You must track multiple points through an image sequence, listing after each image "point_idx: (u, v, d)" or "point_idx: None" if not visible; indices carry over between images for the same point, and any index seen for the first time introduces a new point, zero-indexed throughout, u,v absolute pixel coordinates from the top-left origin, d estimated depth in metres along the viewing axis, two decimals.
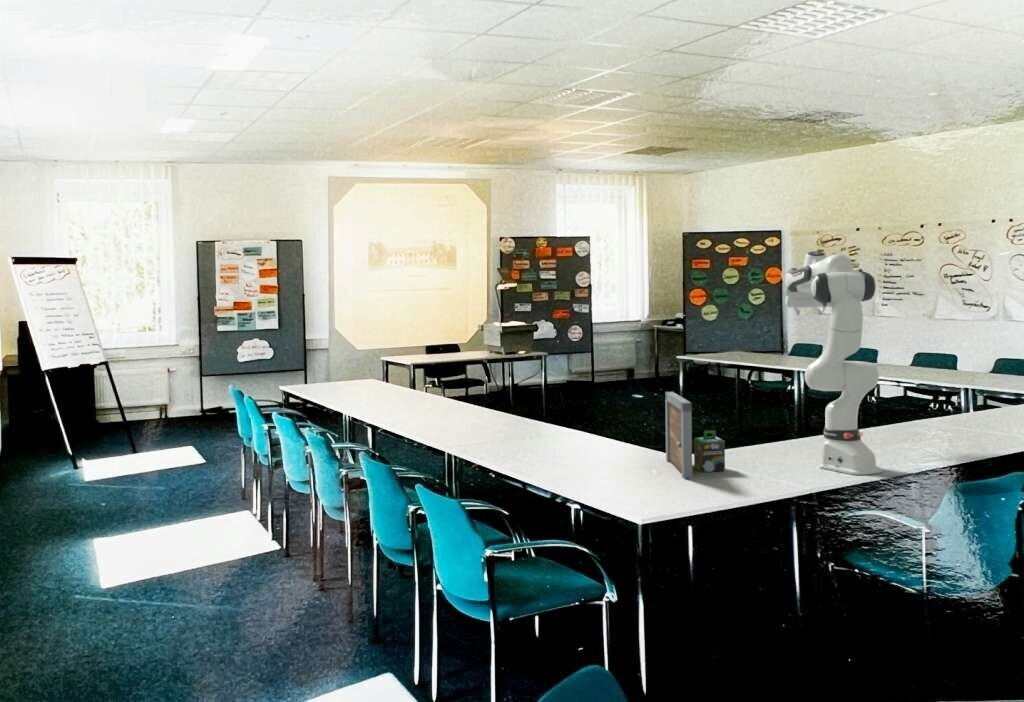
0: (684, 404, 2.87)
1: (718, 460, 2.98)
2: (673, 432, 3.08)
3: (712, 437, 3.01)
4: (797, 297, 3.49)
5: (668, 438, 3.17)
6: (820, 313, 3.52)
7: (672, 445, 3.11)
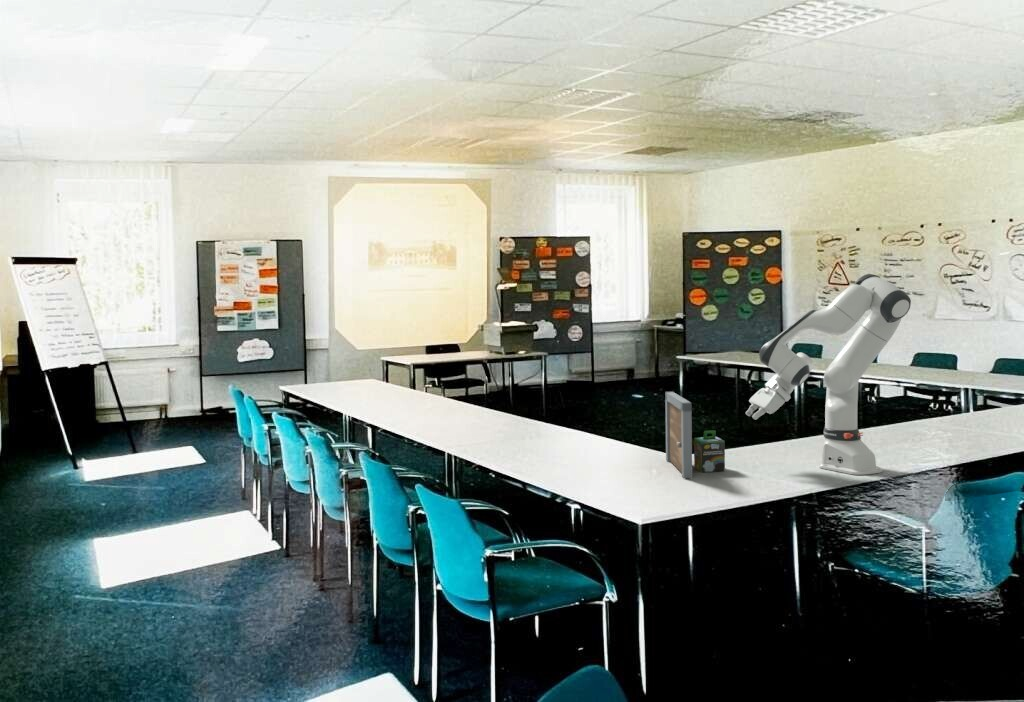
0: (684, 404, 2.87)
1: (718, 460, 2.98)
2: (673, 432, 3.08)
3: (712, 437, 3.01)
4: (760, 393, 3.07)
5: (668, 438, 3.17)
6: (753, 414, 2.97)
7: (672, 445, 3.11)
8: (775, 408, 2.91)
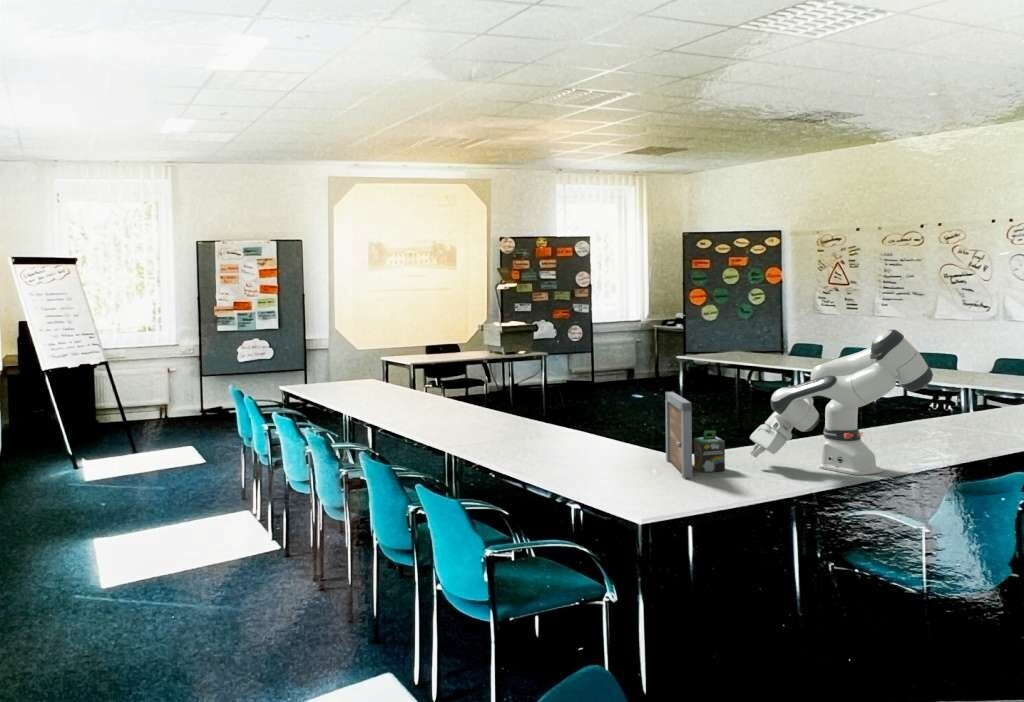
0: (684, 404, 2.87)
1: (718, 460, 2.98)
2: (673, 432, 3.08)
3: (712, 437, 3.01)
4: (761, 430, 3.07)
5: (668, 438, 3.17)
6: (753, 452, 3.01)
7: (672, 445, 3.11)
8: (778, 448, 2.92)
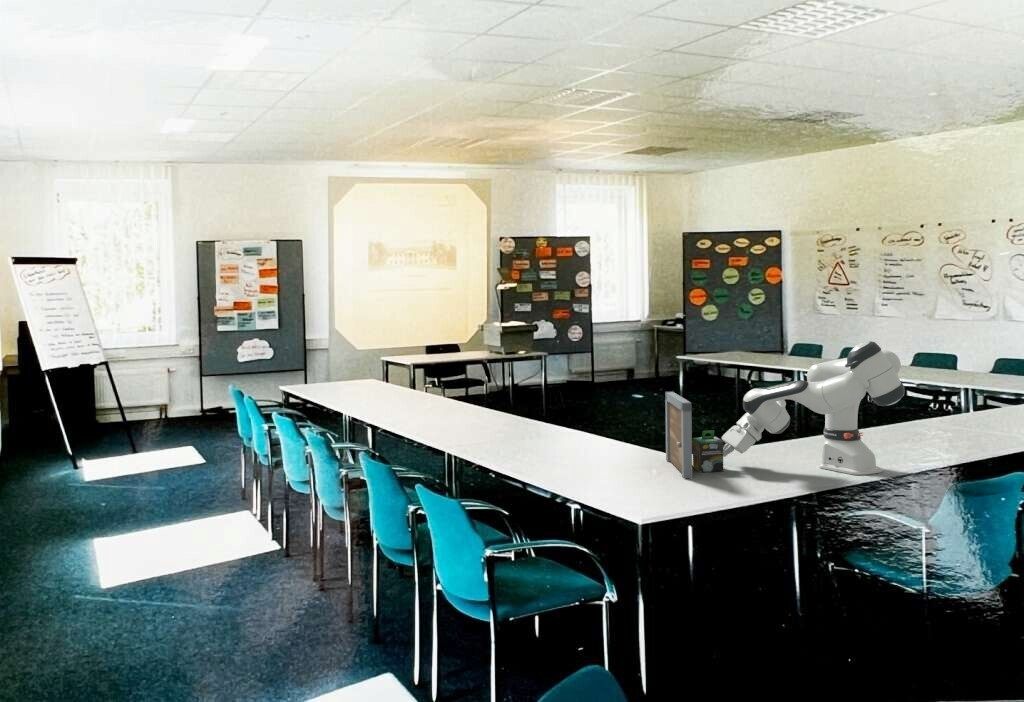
0: (684, 404, 2.87)
1: (717, 460, 2.98)
2: (673, 432, 3.08)
3: (711, 437, 3.01)
4: (732, 430, 3.07)
5: (668, 438, 3.17)
6: None
7: (672, 445, 3.11)
8: (746, 447, 2.92)
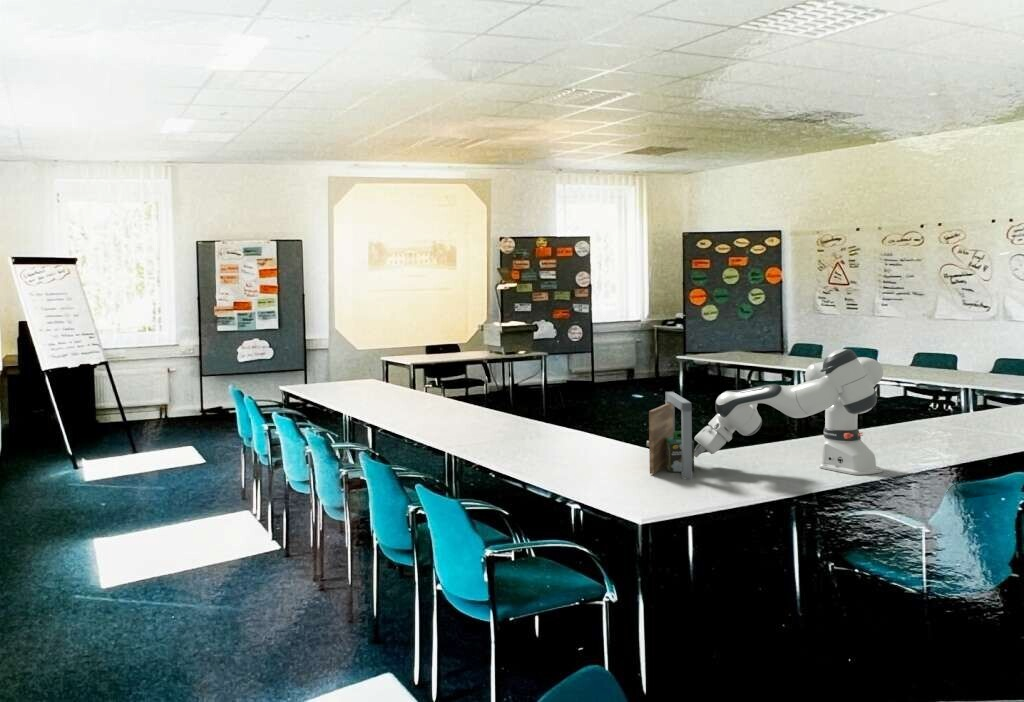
0: (684, 404, 2.87)
1: None
2: None
3: None
4: (705, 431, 3.08)
5: None
6: (694, 452, 3.02)
7: None
8: (716, 448, 2.92)
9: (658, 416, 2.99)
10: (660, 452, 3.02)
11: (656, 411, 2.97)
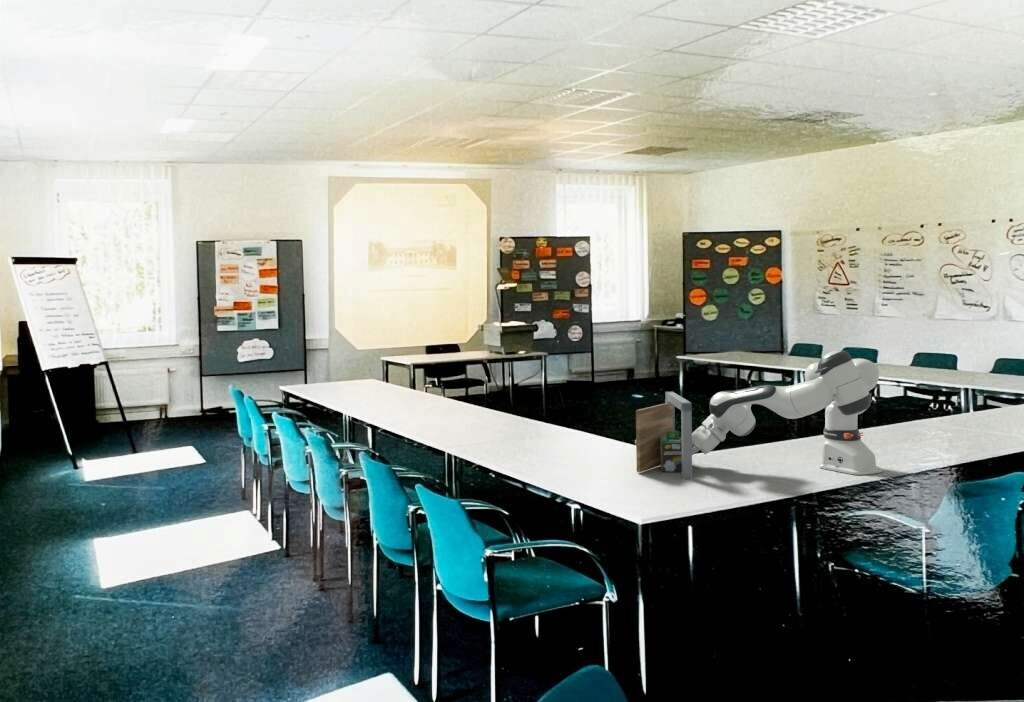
0: (684, 404, 2.87)
1: (679, 460, 2.99)
2: None
3: (676, 437, 3.02)
4: (699, 431, 3.08)
5: None
6: None
7: None
8: (710, 448, 2.92)
9: (648, 416, 3.01)
10: (652, 451, 3.04)
11: (645, 410, 2.99)
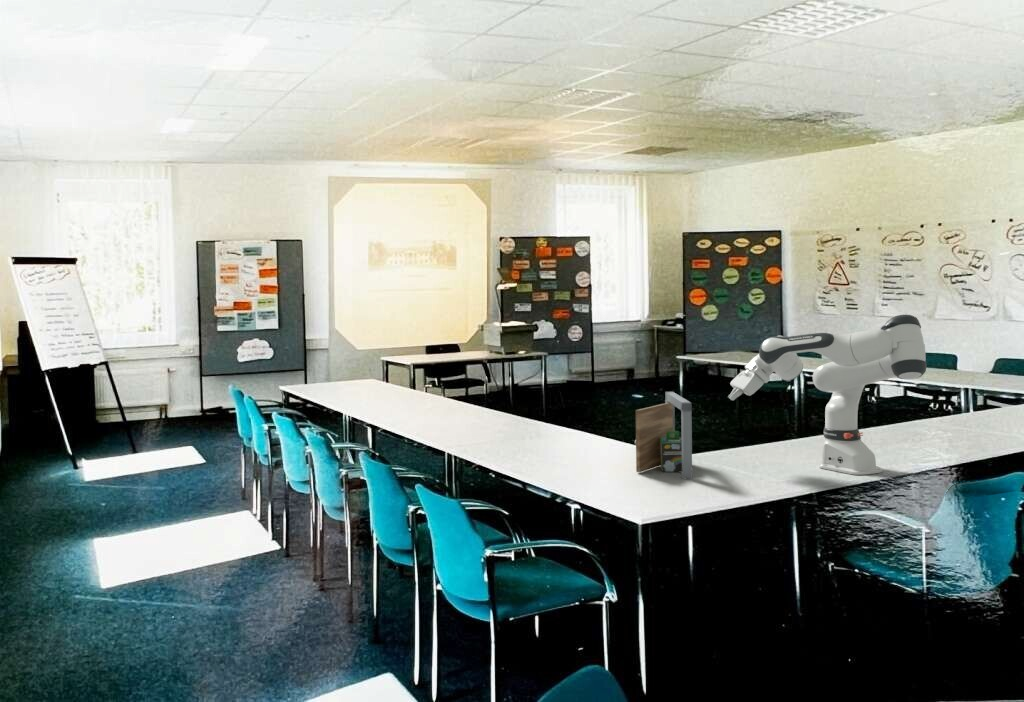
0: (684, 404, 2.87)
1: (679, 461, 2.99)
2: None
3: (675, 437, 3.03)
4: (741, 375, 3.06)
5: None
6: (730, 395, 3.00)
7: None
8: (754, 389, 2.91)
9: (648, 416, 3.01)
10: (652, 451, 3.04)
11: (644, 410, 2.99)
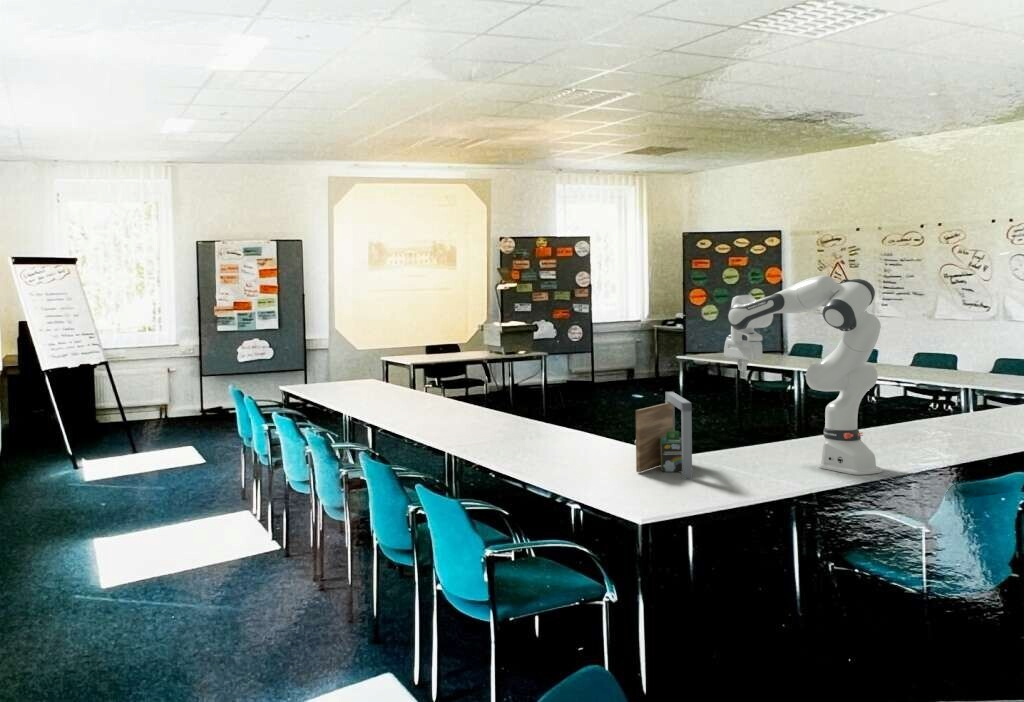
0: (684, 404, 2.87)
1: (679, 461, 2.99)
2: None
3: (676, 437, 3.03)
4: (730, 345, 3.28)
5: None
6: (741, 368, 3.22)
7: None
8: (760, 353, 3.14)
9: (648, 416, 3.01)
10: (652, 451, 3.04)
11: (644, 410, 2.99)
